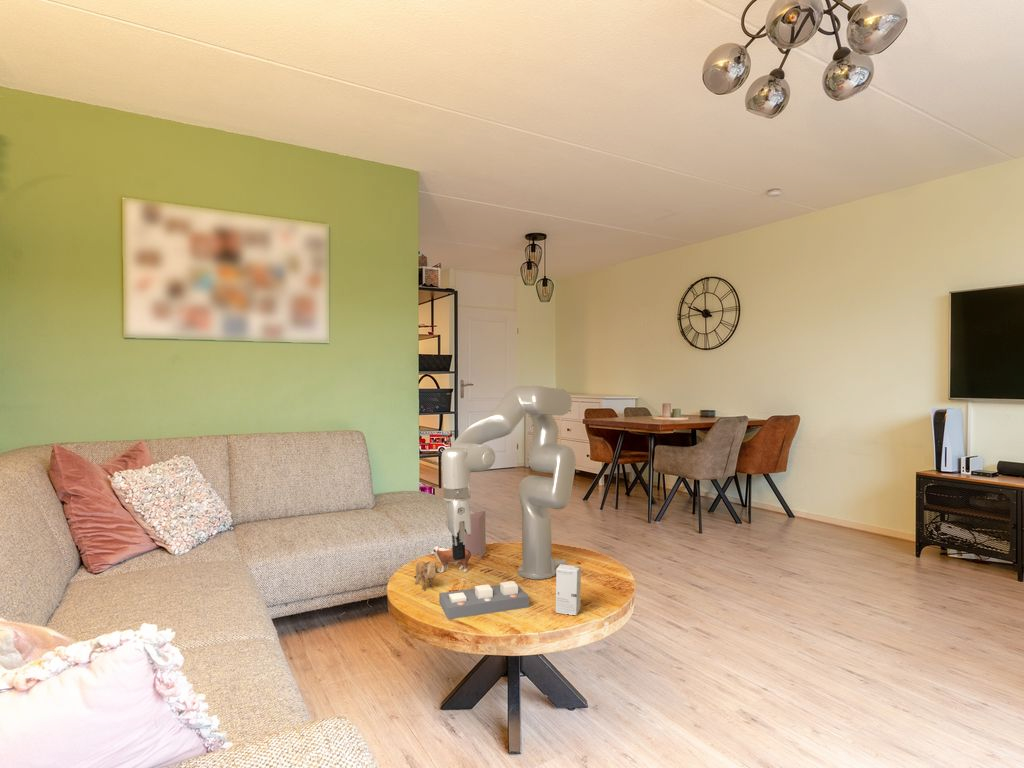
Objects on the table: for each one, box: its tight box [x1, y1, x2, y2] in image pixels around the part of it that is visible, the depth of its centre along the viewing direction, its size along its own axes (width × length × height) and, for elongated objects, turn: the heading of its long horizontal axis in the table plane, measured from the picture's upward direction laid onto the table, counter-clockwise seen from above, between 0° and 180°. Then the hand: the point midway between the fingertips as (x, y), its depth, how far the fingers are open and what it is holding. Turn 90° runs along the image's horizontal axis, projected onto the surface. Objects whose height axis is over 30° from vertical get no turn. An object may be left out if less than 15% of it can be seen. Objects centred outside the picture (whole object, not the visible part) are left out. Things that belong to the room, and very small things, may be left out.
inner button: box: [499, 580, 518, 595], centre depth 160 cm, size 4×4×4 cm
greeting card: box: [465, 510, 487, 562], centre depth 201 cm, size 11×7×15 cm, turn 136°
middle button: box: [474, 583, 493, 599], centre depth 158 cm, size 4×4×4 cm
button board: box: [438, 582, 530, 620], centre depth 158 cm, size 23×11×3 cm, turn 109°
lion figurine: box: [413, 560, 442, 591], centre depth 173 cm, size 15×5×9 cm, turn 35°
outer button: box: [449, 592, 466, 603], centre depth 156 cm, size 4×4×4 cm
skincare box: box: [555, 564, 582, 616], centre depth 153 cm, size 6×4×12 cm
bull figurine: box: [431, 545, 472, 574], centre depth 186 cm, size 4×13×8 cm, turn 84°
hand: (459, 558), depth 156 cm, fingers closed
